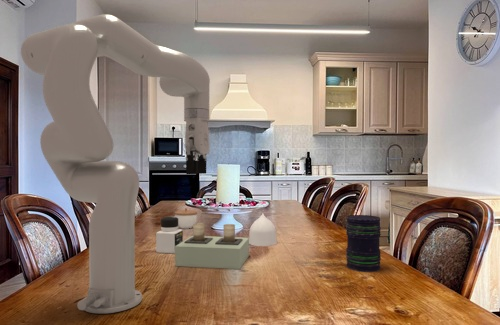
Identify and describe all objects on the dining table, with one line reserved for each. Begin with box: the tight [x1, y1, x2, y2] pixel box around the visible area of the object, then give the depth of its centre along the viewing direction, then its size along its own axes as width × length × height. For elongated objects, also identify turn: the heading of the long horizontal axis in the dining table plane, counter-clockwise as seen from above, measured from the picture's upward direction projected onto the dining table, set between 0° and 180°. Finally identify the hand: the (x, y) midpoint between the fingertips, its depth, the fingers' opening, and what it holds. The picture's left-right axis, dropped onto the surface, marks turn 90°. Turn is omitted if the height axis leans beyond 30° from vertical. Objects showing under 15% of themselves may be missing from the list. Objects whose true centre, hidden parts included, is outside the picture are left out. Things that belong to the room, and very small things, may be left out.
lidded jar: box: [174, 207, 198, 230], centre depth 176 cm, size 11×11×9 cm
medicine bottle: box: [155, 216, 184, 254], centre depth 130 cm, size 7×7×12 cm
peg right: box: [223, 223, 236, 243], centre depth 116 cm, size 4×4×6 cm
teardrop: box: [248, 212, 278, 247], centre depth 142 cm, size 11×11×12 cm
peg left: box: [192, 222, 206, 242], centre depth 118 cm, size 4×4×6 cm
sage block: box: [174, 235, 250, 270], centre depth 117 cm, size 16×20×6 cm
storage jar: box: [345, 214, 382, 273], centre depth 109 cm, size 10×10×15 cm
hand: (196, 173), depth 110 cm, fingers open, 8 cm apart
